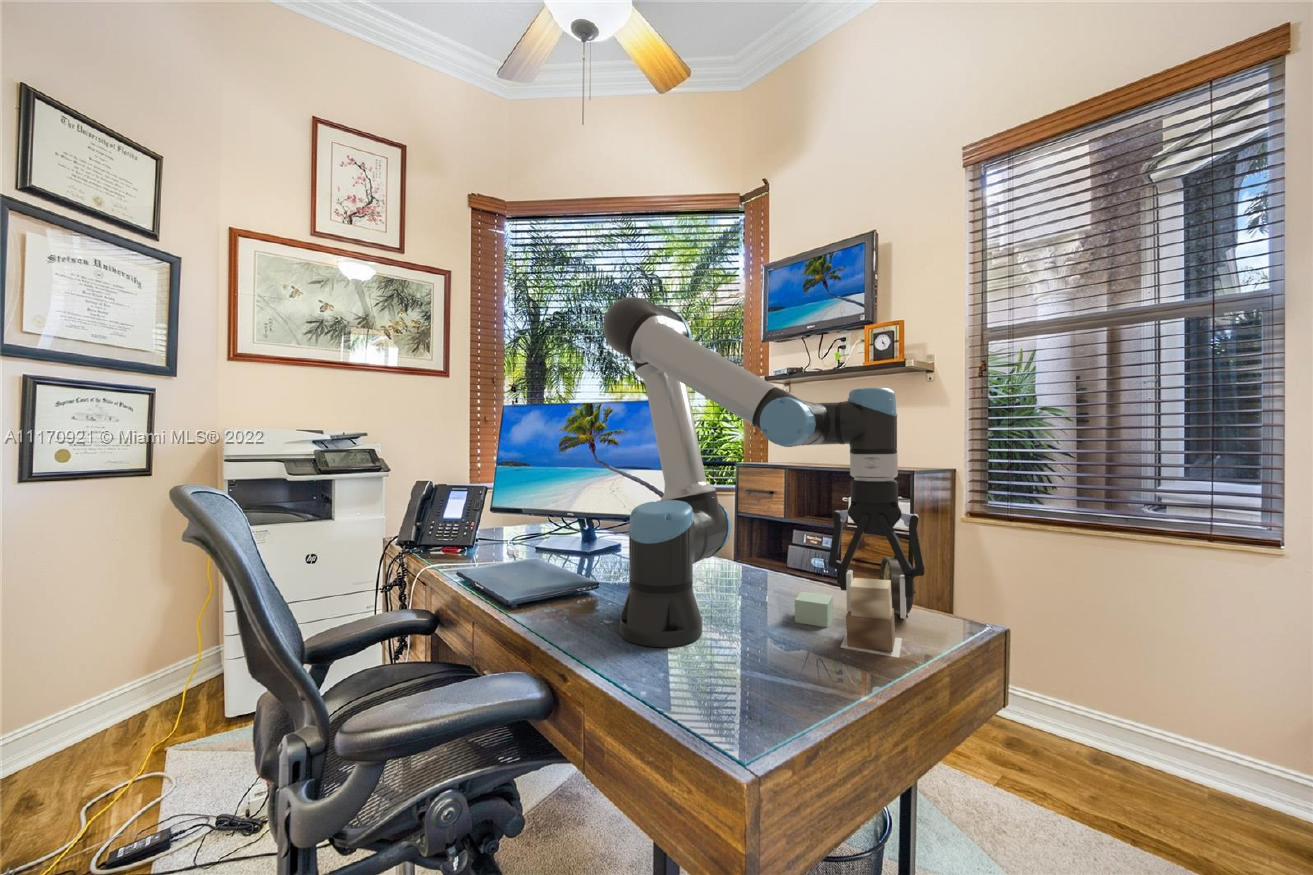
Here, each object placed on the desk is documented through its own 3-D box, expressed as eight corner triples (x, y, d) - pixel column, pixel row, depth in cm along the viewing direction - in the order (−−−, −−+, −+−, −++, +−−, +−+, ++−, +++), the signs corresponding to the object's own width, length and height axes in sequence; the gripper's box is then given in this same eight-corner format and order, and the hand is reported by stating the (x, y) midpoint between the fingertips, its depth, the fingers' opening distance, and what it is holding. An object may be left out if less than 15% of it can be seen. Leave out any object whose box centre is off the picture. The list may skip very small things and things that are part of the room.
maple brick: (851, 616, 89) (849, 586, 89) (855, 605, 95) (854, 577, 95) (889, 619, 87) (888, 589, 87) (892, 609, 92) (890, 580, 92)
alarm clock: (877, 608, 110) (877, 531, 110) (905, 610, 109) (905, 532, 109) (887, 627, 100) (888, 541, 100) (918, 629, 99) (919, 542, 98)
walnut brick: (847, 646, 89) (845, 616, 89) (852, 632, 96) (851, 604, 96) (892, 651, 86) (891, 621, 86) (895, 637, 92) (893, 608, 92)
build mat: (840, 650, 89) (840, 647, 89) (847, 632, 97) (847, 629, 97) (899, 661, 85) (899, 657, 85) (902, 641, 93) (902, 638, 93)
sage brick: (794, 625, 101) (794, 599, 101) (801, 616, 106) (801, 591, 106) (827, 631, 98) (827, 604, 98) (832, 621, 103) (832, 595, 103)
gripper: (807, 479, 92) (810, 610, 92) (942, 481, 82) (945, 628, 82) (816, 476, 99) (818, 599, 98) (941, 478, 89) (944, 614, 89)
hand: (876, 612), depth 90 cm, fingers open, 8 cm apart
